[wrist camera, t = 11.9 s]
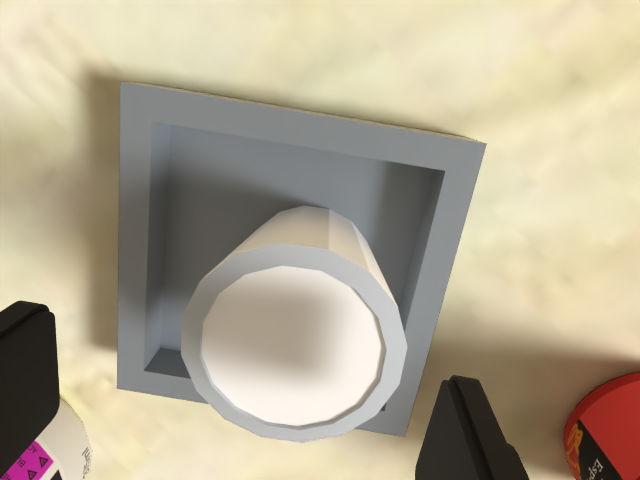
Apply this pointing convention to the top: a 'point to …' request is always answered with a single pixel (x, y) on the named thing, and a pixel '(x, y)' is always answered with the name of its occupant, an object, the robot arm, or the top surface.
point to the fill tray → (264, 203)
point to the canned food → (606, 432)
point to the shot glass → (296, 330)
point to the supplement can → (56, 451)
